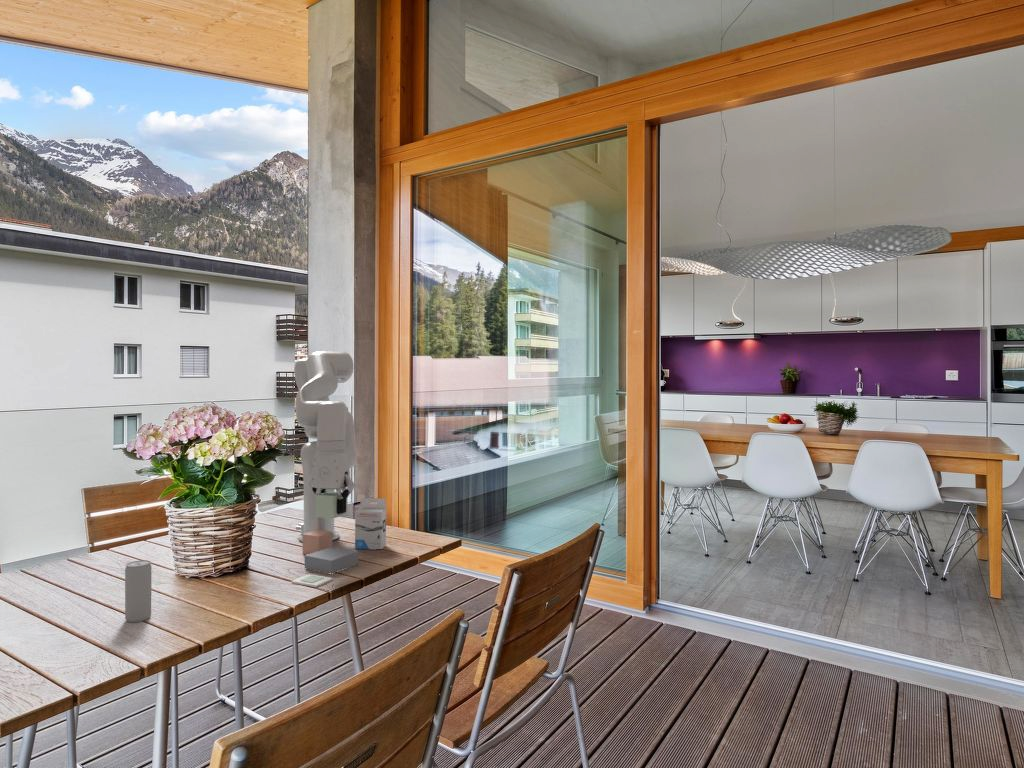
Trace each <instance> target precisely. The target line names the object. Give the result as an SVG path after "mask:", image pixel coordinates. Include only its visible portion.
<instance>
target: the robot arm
mask: <svg viewBox="0 0 1024 768" xmlns="http://www.w3.org/2000/svg"><path fill="white" fill-rule="evenodd" d="M353 361H354V359H353V358H352V356H351V355H350V353H348V352H346V351H320V350H319V351H315V352H312V353H310V354H309V355H308V356H307V357H306V358H305V357H304V358H301V359H299V360H297V361H296V362H295V364H294V369H293V371H294V372H293V373H294V379H295V383H296V387H297V389H298V391H297V394H296V396H295V400H294V403H295V405H294V406H295V407H294V408H295V418H296V421H297V423H298V425H299V426H300V427H302V428H303V430H304V433H305V436H306V437H307V438H309V439H313V440H314V441H313V440H312V441H309V442H306V443H305V444H303V446H302V447H301V449H300V461H301V468H302V480H303V522H299V523H298V524H297V525H296V527H295V530H296V531H300V532H301V533H300V534H299V535H298V541H300V542H302V543H303V534H305V533H308V532H311V531H314V530H323V531H331V532H332V541H334V540H337V539H339V537H340V532H339V531H337V530H335V518H333V519H332V518H322V517H315V495H317V494H321V493H325V492H330V491H333V492H337V495H338V498H339V499H337V514H342V513H345V512H346V498H347V499H348V498H349V496H350V494H351V493H352V491H353V490H354V489H355V488H356V487H357V485H356V484H355V482H354V481H353V480H352V479H351V470H350V469H352V468H354V467H355V466H356V464H357V457H358V455H357V443H356V432H355V430H356V429H355V422H354V421H355V420H354V416H353V415H352V413H351V412H350V411H349V407H348V406H347V404H346V403H345V402H344V401H341V400H330V396H331V395H333V394H334V393H335V392H336V390H338V386H339V384H341V383H342V384H344V383H346V382H347V381H349V380H350V379H351V378H352V375H353V374H354V370H355V369H354V366H355V365H354V362H353ZM315 440H316V441H315ZM342 492H343V493H342Z"/></svg>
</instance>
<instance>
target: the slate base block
mask: <svg viewBox="0 0 1024 768" xmlns="http://www.w3.org/2000/svg"><path fill="white" fill-rule="evenodd" d="M355 564H358V565H359V551H358V550H353V549H349V548H348V549H347V548H341V547H335V546H332V547H329V548H326V549H323V550H320V551H317V552H314V553H311V554H308V555H304V569H305V568H306V569H305V570H308V569H311V570H310V571H313V570H316V571H315V572H317V571H320V572H319V573H322V572H326V573H325V574H327V573H331V574H330V575H333V574H332V573H334V572H337V571H339V570H342V569H345V568H347V569H349V568H348V567H350V566H353V565H355ZM355 566H356V565H355ZM353 567H354V566H353ZM350 568H351V567H350ZM345 570H346V569H345ZM342 571H343V570H342ZM339 572H340V571H339ZM337 573H338V572H337ZM334 574H335V573H334Z"/></svg>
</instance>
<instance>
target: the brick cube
mask: <svg viewBox="0 0 1024 768" xmlns="http://www.w3.org/2000/svg"><path fill="white" fill-rule="evenodd" d="M329 547H333V540H332V532H331V531H323V530H314V531H311V532H308V533H305V534H303V542H302V555H304V554H311V553H314V552H317V551H320V550H323V549H326V548H329Z"/></svg>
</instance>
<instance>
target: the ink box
mask: <svg viewBox="0 0 1024 768" xmlns="http://www.w3.org/2000/svg"><path fill="white" fill-rule="evenodd" d="M386 500H387V499H386V498H375V497H373V498H372V497H369V498H367V497H366V498H365V497H362V498H360V507H359V509H356V510H355V512H354V514H355V515H354V517H355V518H354V527H355V529H354V548H355V550H376V549H382V550H383V549H384V548H385V547H386V545H387V506H386V505H387V501H386ZM372 502H374V503H372Z"/></svg>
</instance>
